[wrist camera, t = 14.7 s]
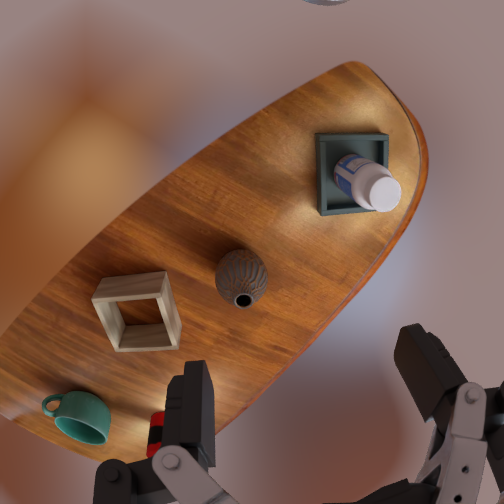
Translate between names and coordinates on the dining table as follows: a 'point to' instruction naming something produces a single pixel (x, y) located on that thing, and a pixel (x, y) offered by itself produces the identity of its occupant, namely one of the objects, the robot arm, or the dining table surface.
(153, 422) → the soda can
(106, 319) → the crate
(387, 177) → the pill bottle
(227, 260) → the vase
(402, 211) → the dining table surface
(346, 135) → the tray
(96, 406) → the mug
